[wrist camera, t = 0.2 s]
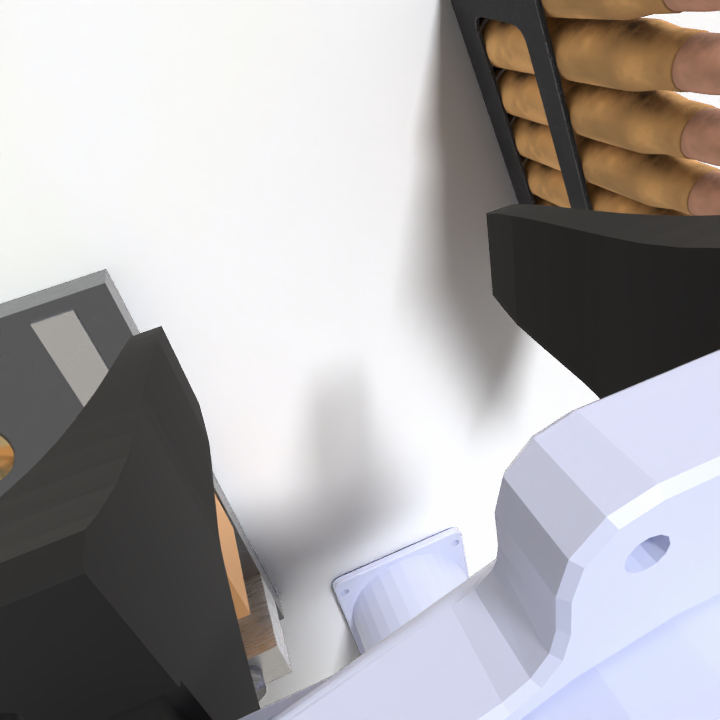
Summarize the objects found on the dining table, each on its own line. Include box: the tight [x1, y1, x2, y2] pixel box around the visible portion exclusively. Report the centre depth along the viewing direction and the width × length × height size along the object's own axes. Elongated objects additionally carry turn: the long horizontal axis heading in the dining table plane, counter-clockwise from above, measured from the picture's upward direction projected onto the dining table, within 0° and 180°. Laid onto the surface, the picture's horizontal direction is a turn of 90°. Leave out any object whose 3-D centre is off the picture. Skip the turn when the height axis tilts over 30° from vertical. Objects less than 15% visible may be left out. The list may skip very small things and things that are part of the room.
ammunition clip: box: [451, 0, 720, 216], centre depth 17 cm, size 11×2×12 cm, turn 28°
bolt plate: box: [0, 269, 292, 701], centre depth 23 cm, size 21×9×6 cm, turn 13°
